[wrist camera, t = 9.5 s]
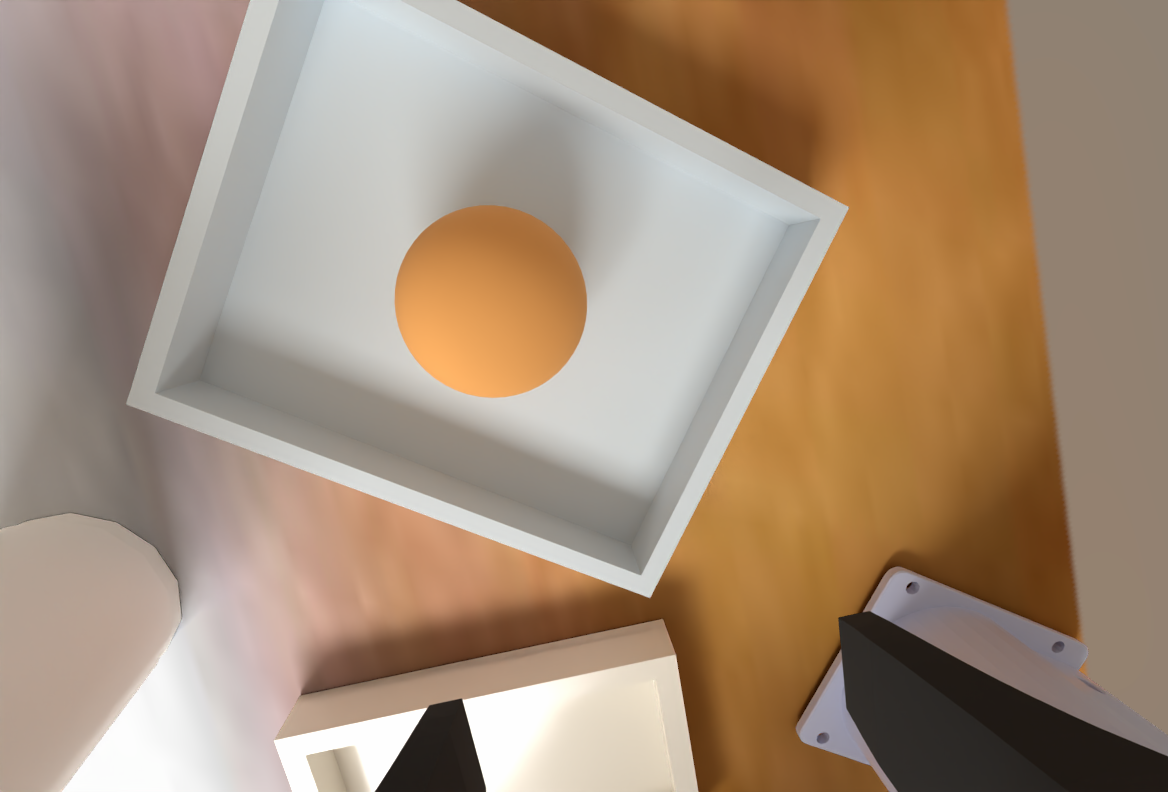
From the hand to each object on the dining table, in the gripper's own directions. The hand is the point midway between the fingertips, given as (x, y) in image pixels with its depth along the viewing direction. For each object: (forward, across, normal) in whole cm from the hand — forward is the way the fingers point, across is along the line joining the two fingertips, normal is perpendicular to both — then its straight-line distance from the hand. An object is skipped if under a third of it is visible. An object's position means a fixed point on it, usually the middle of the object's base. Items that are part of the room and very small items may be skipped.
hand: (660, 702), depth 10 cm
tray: (+9, +2, -8) cm, 12 cm away
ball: (+6, +2, -8) cm, 10 cm away
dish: (+9, +5, +10) cm, 14 cm away
